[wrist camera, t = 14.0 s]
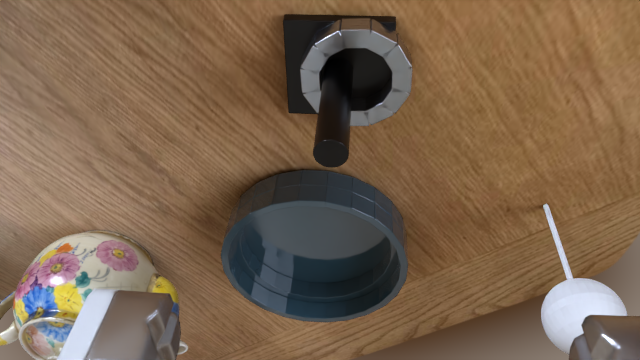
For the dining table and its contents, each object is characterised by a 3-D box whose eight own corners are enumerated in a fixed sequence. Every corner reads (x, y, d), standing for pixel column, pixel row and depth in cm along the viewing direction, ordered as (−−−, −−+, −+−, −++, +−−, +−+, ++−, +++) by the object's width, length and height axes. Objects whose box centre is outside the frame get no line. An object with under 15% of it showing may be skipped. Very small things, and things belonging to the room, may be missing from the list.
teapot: (99, 313, 67) (52, 420, 57) (6, 247, 60) (-66, 357, 50) (225, 263, 59) (196, 378, 49) (136, 181, 52) (80, 296, 42)
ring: (306, 112, 44) (304, 126, 43) (299, 19, 39) (296, 30, 38) (407, 112, 44) (408, 126, 42) (413, 17, 38) (415, 28, 37)
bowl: (240, 283, 61) (232, 317, 58) (219, 162, 50) (208, 196, 46) (398, 291, 60) (399, 326, 57) (413, 170, 49) (416, 205, 45)
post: (290, 106, 45) (271, 198, 37) (284, 13, 40) (261, 97, 32) (388, 109, 45) (391, 203, 36) (395, 16, 39) (401, 101, 31)
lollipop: (507, 188, 49) (546, 334, 38) (577, 174, 48) (640, 322, 36) (516, 234, 53) (555, 379, 42) (582, 222, 51) (640, 370, 40)
